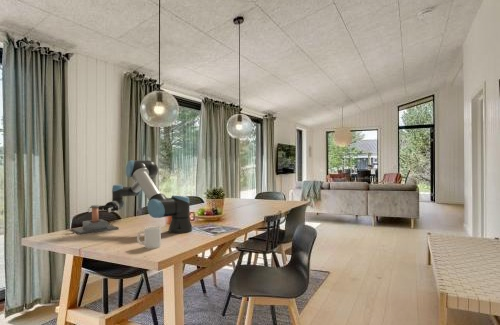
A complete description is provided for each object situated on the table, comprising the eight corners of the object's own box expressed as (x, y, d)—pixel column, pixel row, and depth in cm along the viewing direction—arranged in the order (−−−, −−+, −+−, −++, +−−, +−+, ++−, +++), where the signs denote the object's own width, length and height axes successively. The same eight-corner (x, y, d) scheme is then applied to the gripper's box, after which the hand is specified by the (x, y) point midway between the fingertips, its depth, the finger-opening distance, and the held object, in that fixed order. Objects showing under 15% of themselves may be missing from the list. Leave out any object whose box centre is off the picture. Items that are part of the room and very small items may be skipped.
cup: (161, 248, 169) (161, 228, 169) (137, 250, 165) (137, 230, 165) (159, 244, 177) (159, 225, 177) (136, 246, 172) (136, 227, 172)
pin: (97, 227, 220) (97, 204, 220) (100, 227, 217) (100, 205, 217) (90, 228, 217) (89, 205, 217) (92, 229, 213) (92, 206, 213)
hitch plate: (108, 225, 231) (108, 217, 231) (118, 229, 219) (118, 220, 219) (71, 230, 215) (71, 221, 215) (80, 234, 202) (80, 225, 202)
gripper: (128, 211, 243) (116, 215, 222) (95, 211, 243) (80, 215, 222) (128, 201, 243) (116, 205, 222) (95, 201, 243) (80, 204, 222)
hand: (98, 210), depth 222 cm, fingers open, 13 cm apart
